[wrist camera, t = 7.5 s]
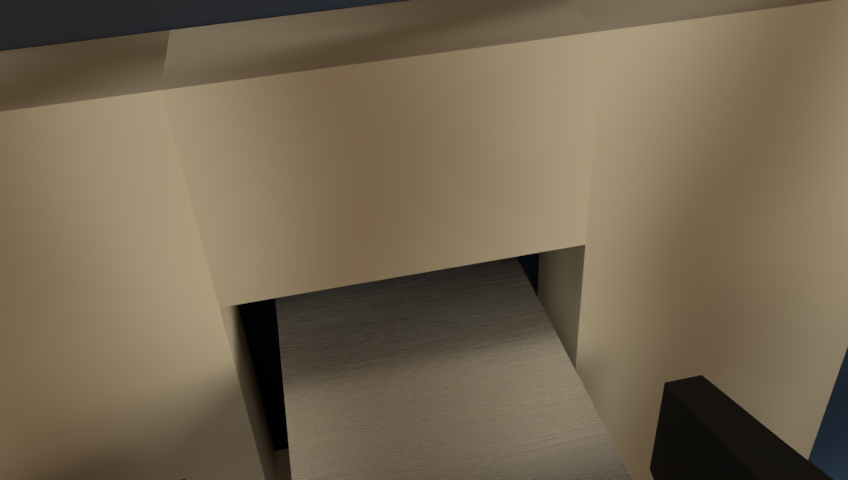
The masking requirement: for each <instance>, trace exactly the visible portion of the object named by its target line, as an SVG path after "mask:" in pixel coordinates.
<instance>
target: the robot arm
mask: <svg viewBox="0 0 848 480" xmlns="http://www.w3.org/2000/svg"><path fill="white" fill-rule="evenodd" d="M650 471H651V474H652V476H653V479H654V480H833V479H832V478H831V477H829V476H828V475H827V474H825V473H824V472H823V471H822V470H820V469H819V468H818V467H816V466H815V465H814V464H812V463H811V462H810V461H808V460H807V459H806V458H804V457H803V456H802V455H801V454H799V453H798V452H797V451H795V450H794V449H793V448H792V447H790V446H789V445H788V444H787V443H785V442H784V441H783V440H782V439H780V438H779V437H778V436H777V435H775V434H774V433H773V432H772V431H770V430H769V429H768V428H767V427H765V426H764V425H763V424H762V423H760V422H759V421H758V420H757V419H756V418H754V417H753V416H752V415H751V414H749V413H748V412H747V411H746V410H744V409H743V408H742V407H741V406H740V405H738V404H737V403H736V402H735V401H733V400H732V399H731V398H730V397H729V396H727V395H726V394H725V393H724V392H722V391H721V390H720V389H719V388H717V387H716V386H715V385H714V384H712V383H711V382H710V381H709V380H707V379H706V378H705V377H704V376H702V375H699V376H694V377H689V378H684V379H679V380H674V381H669V382H665V383H664V389H663V395H662V401H661V406H660V412H659V418H658V424H657V429H656V435H655V441H654V447H653V452H652V458H651V464H650ZM181 480H185V479H181Z"/></svg>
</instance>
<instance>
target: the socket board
mask: <svg viewBox="0 0 848 480" xmlns="http://www.w3.org/2000/svg"><path fill="white" fill-rule="evenodd" d="M534 253H539V264H538V291H537V297H538V299H539V301H540V303H541V305H542V307H543V309H544V311H545V313H546V314H547V316H548V318H549V320H550V322H551V324H552V326H553V328H554V330H555V332H556V334H557V336H558V337H559V339H560V341H561V343H562V345H563V347H564V349H565V351H566V353H567V355H568V357H569V359H570V361H571V362H572V364H573V366H574V368H575V370H576V372H577V374H578V376H579V378H580V380H581V382H582V384H583V385H584V387H585V389H586V391H587V393H588V395H589V397H590V399H591V401H592V403H593V405H594V407H595V409H596V410H597V412H598V414H599V416H600V418H601V420H602V422H603V424H604V426H605V428H606V430H607V432H608V433H609V435H610V437H611V439H612V441H613V443H614V445H615V447H616V449H617V451H618V453H619V455H620V457H621V458H622V460H623V462H624V464H625V466H626V468H627V470H628V472H629V474H630V476H631V478H632V480H654V479H653V476H652V474H651V471H650V464H651V458H652V452H653V447H654V441H655V435H656V429H657V424H658V418H659V412H660V406H661V401H662V395H663V389H664V383H665V382H669V381H674V380H679V379H684V378H689V377H694V376H699V375H702V376H704V377H705V378H706V379H707V380H709V381H710V382H711V383H712V384H714V385H715V386H716V387H717V388H719V389H720V390H721V391H722V392H724V393H725V394H726V395H727V396H729V397H730V398H731V399H732V400H733V401H735V402H736V403H737V404H738V405H740V406H741V407H742V408H743V409H744V410H746V411H747V412H748V413H749V414H751V415H752V416H753V417H754V418H756V419H757V420H758V421H759V422H760V423H762V424H763V425H764V426H765V427H767V428H768V429H769V430H770V431H772V432H773V433H774V434H775V435H777V436H778V437H779V438H780V439H782V440H783V441H784V442H785V443H787V444H788V445H789V446H790V447H792V448H793V449H794V450H795V451H797V452H798V453H799V454H801V455H802V456H803V457H804V458H806V459H807V460H808V458H809V456H810V453H811V450H812V447H813V444H814V441H815V439H816V436H817V433H818V430H819V427H820V424H821V421H822V419H823V416H824V413H825V410H826V407H827V404H828V401H829V399H830V396H831V393H832V390H833V387H834V384H835V382H836V379H837V376H838V373H839V370H840V367H841V364H842V362H843V359H844V356H845V353H846V350H847V347H848V0H410V1H402V2H394V3H386V4H378V5H370V6H362V7H353V8H345V9H337V10H329V11H321V12H313V13H305V14H297V15H289V16H281V17H273V18H265V19H257V20H248V21H240V22H232V23H224V24H216V25H208V26H200V27H192V28H184V29H176V30H168V31H160V32H152V33H143V34H135V35H127V36H119V37H111V38H103V39H95V40H87V41H79V42H71V43H63V44H55V45H47V46H38V47H30V48H22V49H14V50H6V51H0V480H181V479H185V480H292V477H291V466H290V455H289V448H287V449H282V450H277V451H274V447H273V443H272V439H271V435H270V431H269V427H268V423H267V419H266V415H265V411H264V407H263V403H262V399H261V395H260V391H259V387H258V383H257V379H256V375H255V371H254V367H253V363H252V359H251V355H250V351H249V346H248V342H247V338H246V334H245V330H244V326H243V322H242V318H241V314H240V310H239V306H238V304H244V303H250V302H256V301H262V300H267V299H273V298H279V297H285V296H291V295H296V294H302V293H308V292H314V291H320V290H325V289H331V288H337V287H343V286H349V285H354V284H360V283H366V282H372V281H378V280H383V279H389V278H395V277H401V276H406V275H412V274H418V273H424V272H430V271H435V270H441V269H447V268H453V267H459V266H464V265H470V264H476V263H482V262H488V261H493V260H499V259H505V258H511V257H517V256H522V255H528V254H534Z"/></svg>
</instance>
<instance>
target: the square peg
mask: <svg viewBox="0 0 848 480" xmlns="http://www.w3.org/2000/svg"><path fill="white" fill-rule="evenodd" d="M275 300H276V312H277V323H278V334H279V345H280V356H281V367H282V378H283V389H284V400H285V411H286V422H287V433H288V444H289V455H290V466H291V477H292V480H632V478H631V476H630V474H629V472H628V470H627V468H626V466H625V464H624V462H623V460H622V458H621V457H620V455H619V453H618V451H617V449H616V447H615V445H614V443H613V441H612V439H611V437H610V435H609V433H608V432H607V430H606V428H605V426H604V424H603V422H602V420H601V418H600V416H599V414H598V412H597V410H596V409H595V407H594V405H593V403H592V401H591V399H590V397H589V395H588V393H587V391H586V389H585V387H584V385H583V384H582V382H581V380H580V378H579V376H578V374H577V372H576V370H575V368H574V366H573V364H572V362H571V361H570V359H569V357H568V355H567V353H566V351H565V349H564V347H563V345H562V343H561V341H560V339H559V337H558V336H557V334H556V332H555V330H554V328H553V326H552V324H551V322H550V320H549V318H548V316H547V314H546V313H545V311H544V309H543V307H542V305H541V303H540V301H539V299H538V297H537V295H536V293H535V291H534V289H533V288H532V286H531V284H530V282H529V280H528V278H527V276H526V274H525V272H524V270H523V268H522V266H521V265H520V263H519V261H518V259H517V257H511V258H505V259H499V260H493V261H488V262H482V263H476V264H470V265H464V266H459V267H453V268H447V269H441V270H435V271H430V272H424V273H418V274H412V275H406V276H401V277H395V278H389V279H383V280H378V281H372V282H366V283H360V284H354V285H349V286H343V287H337V288H331V289H325V290H320V291H314V292H308V293H302V294H296V295H291V296H285V297H279V298H275Z"/></svg>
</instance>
